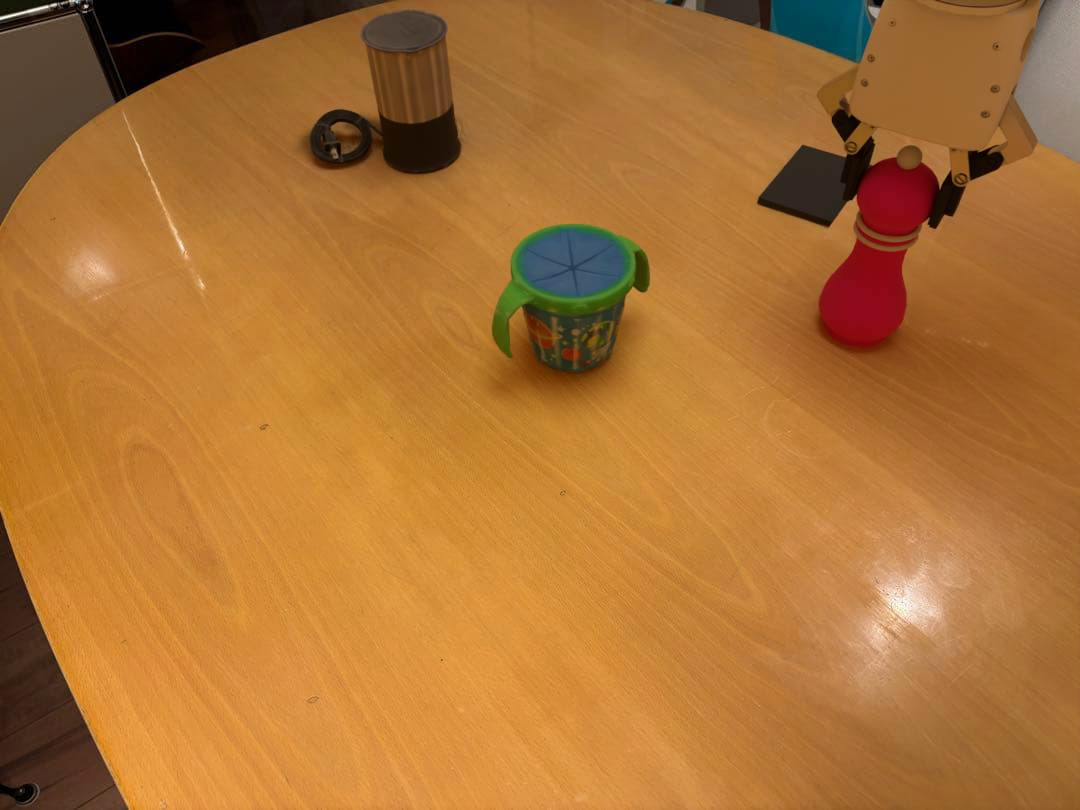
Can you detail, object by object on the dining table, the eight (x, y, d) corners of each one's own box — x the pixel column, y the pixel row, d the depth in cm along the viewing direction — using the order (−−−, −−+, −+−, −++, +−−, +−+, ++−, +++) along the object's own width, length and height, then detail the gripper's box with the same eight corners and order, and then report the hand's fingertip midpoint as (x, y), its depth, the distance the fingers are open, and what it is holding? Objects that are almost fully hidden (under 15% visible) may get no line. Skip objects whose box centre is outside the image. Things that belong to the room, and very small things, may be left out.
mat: (979, 203, 92) (982, 197, 92) (945, 265, 86) (947, 259, 85) (801, 150, 100) (802, 144, 100) (757, 203, 94) (758, 197, 93)
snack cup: (616, 286, 85) (619, 199, 78) (676, 352, 79) (687, 264, 72) (472, 342, 81) (461, 255, 73) (524, 416, 75) (518, 329, 67)
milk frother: (476, 156, 101) (464, 31, 90) (355, 205, 96) (325, 78, 85) (417, 106, 110) (399, -14, 98) (302, 148, 104) (269, 25, 93)
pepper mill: (807, 311, 82) (857, 119, 67) (886, 316, 81) (955, 123, 66) (812, 366, 77) (867, 172, 62) (896, 372, 77) (973, 177, 62)
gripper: (1132, -27, 53) (1021, 215, 67) (859, -78, 60) (808, 151, 74) (1107, 21, 49) (994, 268, 63) (817, -39, 56) (771, 196, 70)
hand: (894, 203), depth 68 cm, fingers closed on pepper mill, 6 cm apart
